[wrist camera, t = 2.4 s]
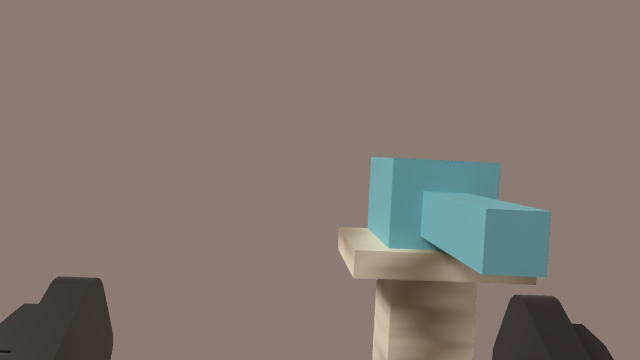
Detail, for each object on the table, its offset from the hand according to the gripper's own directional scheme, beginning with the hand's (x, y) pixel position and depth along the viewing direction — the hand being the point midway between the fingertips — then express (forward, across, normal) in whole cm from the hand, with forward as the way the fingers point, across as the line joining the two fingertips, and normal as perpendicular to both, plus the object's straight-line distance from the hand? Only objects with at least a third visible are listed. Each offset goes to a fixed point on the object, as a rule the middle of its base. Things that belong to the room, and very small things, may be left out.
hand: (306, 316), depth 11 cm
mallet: (+15, -8, +10) cm, 20 cm away
